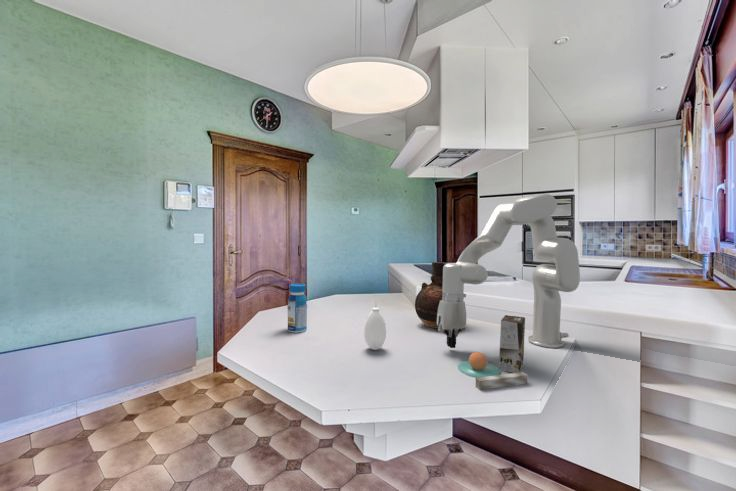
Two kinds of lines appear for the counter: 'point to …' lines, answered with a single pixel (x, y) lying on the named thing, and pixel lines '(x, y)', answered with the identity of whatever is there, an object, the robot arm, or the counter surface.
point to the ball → (477, 361)
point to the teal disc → (487, 371)
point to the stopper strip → (501, 380)
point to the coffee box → (512, 343)
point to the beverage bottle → (297, 309)
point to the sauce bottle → (375, 329)
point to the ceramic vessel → (430, 297)
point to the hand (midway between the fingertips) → (451, 346)
